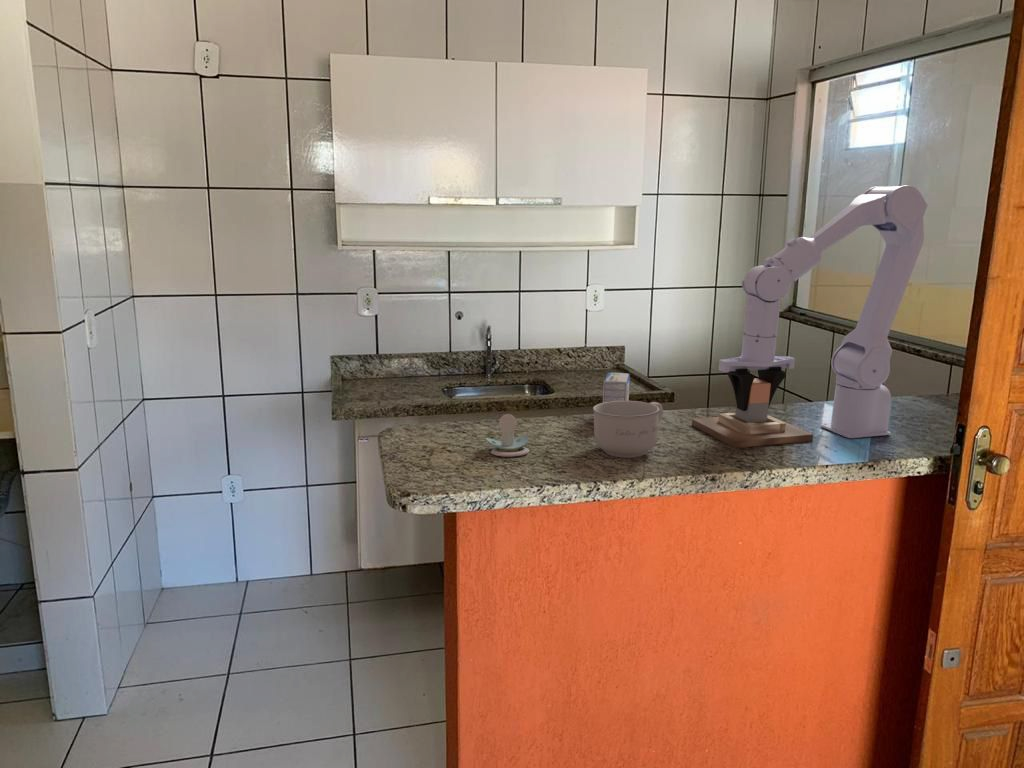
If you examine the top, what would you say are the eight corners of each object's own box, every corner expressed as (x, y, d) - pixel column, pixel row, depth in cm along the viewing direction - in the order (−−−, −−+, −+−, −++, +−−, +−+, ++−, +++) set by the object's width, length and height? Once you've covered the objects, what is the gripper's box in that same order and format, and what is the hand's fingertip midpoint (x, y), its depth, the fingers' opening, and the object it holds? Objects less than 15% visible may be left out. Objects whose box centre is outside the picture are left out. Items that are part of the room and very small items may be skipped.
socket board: (764, 419, 148) (765, 405, 147) (812, 440, 135) (814, 426, 134) (691, 425, 143) (692, 411, 142) (734, 448, 130) (736, 432, 130)
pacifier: (535, 457, 124) (524, 445, 130) (536, 421, 122) (526, 410, 128) (491, 461, 122) (482, 448, 128) (492, 423, 120) (483, 412, 126)
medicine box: (625, 428, 141) (628, 382, 139) (601, 426, 141) (603, 380, 139) (627, 416, 148) (630, 373, 146) (604, 414, 149) (607, 371, 147)
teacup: (615, 467, 120) (618, 418, 118) (578, 447, 129) (580, 401, 127) (685, 455, 126) (688, 408, 124) (645, 437, 135) (648, 393, 133)
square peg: (753, 415, 141) (757, 378, 139) (766, 421, 137) (770, 383, 136) (734, 416, 140) (738, 379, 138) (747, 422, 136) (751, 384, 135)
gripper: (780, 329, 141) (772, 400, 144) (711, 332, 136) (705, 405, 139) (805, 336, 134) (797, 410, 137) (734, 339, 130) (727, 415, 133)
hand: (752, 408), depth 138 cm, fingers closed on square peg, 4 cm apart
